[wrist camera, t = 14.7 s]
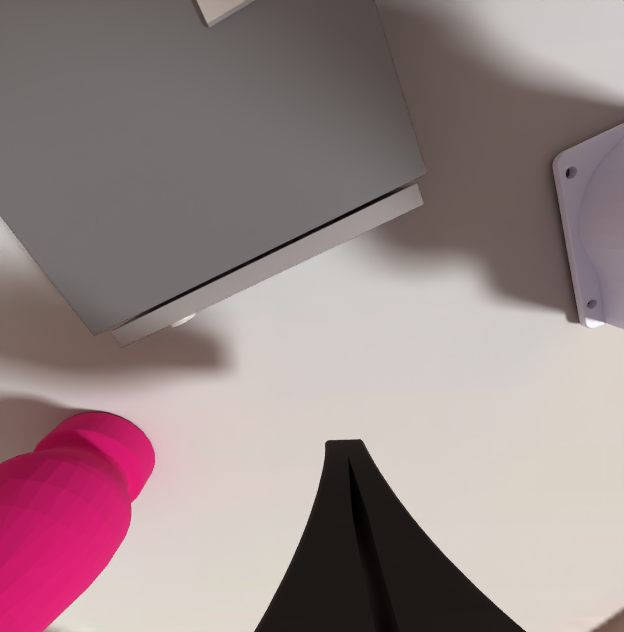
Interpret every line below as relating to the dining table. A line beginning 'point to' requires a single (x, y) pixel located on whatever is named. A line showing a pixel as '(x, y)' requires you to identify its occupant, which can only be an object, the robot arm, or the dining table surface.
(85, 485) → the pepper mill
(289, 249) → the tray
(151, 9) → the box
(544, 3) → the dining table surface
